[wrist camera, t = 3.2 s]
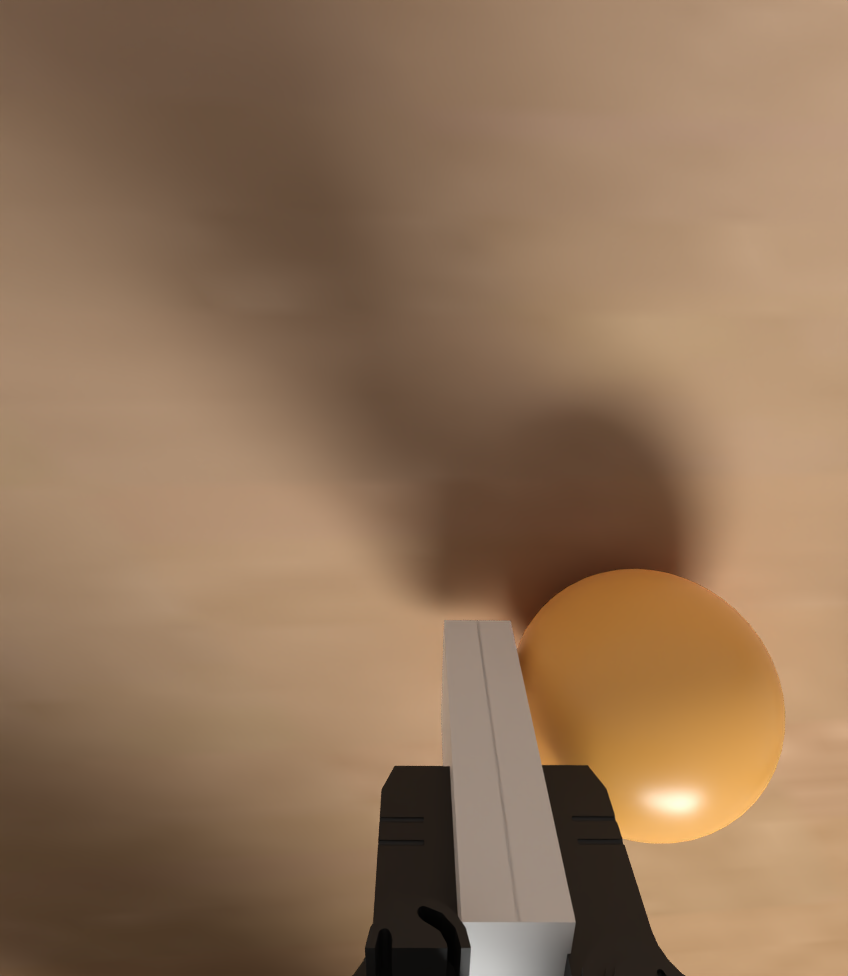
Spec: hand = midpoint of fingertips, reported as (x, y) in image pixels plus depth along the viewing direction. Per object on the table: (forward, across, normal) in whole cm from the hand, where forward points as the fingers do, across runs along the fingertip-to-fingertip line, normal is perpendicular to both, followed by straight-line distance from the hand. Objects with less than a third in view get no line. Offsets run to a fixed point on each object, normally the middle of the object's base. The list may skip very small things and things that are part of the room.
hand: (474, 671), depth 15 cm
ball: (-1, -4, 0) cm, 4 cm away
